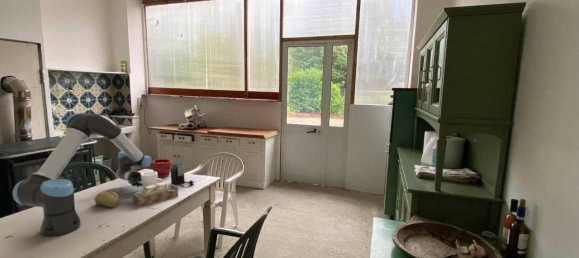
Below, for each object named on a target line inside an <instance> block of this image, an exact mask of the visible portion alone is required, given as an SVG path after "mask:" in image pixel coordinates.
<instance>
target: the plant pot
mask: <svg viewBox="0 0 579 258" xmlns="http://www.w3.org/2000/svg"><path fill="white" fill-rule="evenodd" d="M171 163H172V160H171V159H169V158H168V159H167V158H159V159H154V160H152V170H153V171H154V172H157V174H158V176H159V178H165V177H169V176H170V175H171Z"/></svg>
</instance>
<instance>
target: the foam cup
mask: <svg viewBox="0 0 579 258" xmlns="http://www.w3.org/2000/svg"><path fill="white" fill-rule="evenodd" d="M157 176H158V174H157V172H154V170H153V171H145V172H142V173H141V179H142V181H141V182H144V183H146V184H147V186H149V185H153V184H158V182H157ZM143 189H144V187H143Z"/></svg>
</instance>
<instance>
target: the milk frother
mask: <svg viewBox="0 0 579 258" xmlns="http://www.w3.org/2000/svg"><path fill="white" fill-rule="evenodd" d="M170 181H171V182H170V183H171V184H173V185H175V186H178V185H183V184H190V185H193V184H194V183H195V181H193V180H189V181H185V161H180V160H179V161H173V162H172V161H171V169H170Z"/></svg>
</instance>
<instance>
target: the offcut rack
mask: <svg viewBox="0 0 579 258" xmlns="http://www.w3.org/2000/svg"><path fill="white" fill-rule="evenodd" d="M169 190H170V191H166V192H162V193H158V194H154V195H150V196H146V197H142V198H141V195H139V194H137V193H136V192H135V193H131V194H132V204H133V205H134V206H136V207H137V208H139V207H143V206H147V205H150V204H154V203H157V202H161V201H164V200H169V199H171V198H177V197H179V187H178V185H174V184H170V189H169Z"/></svg>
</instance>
